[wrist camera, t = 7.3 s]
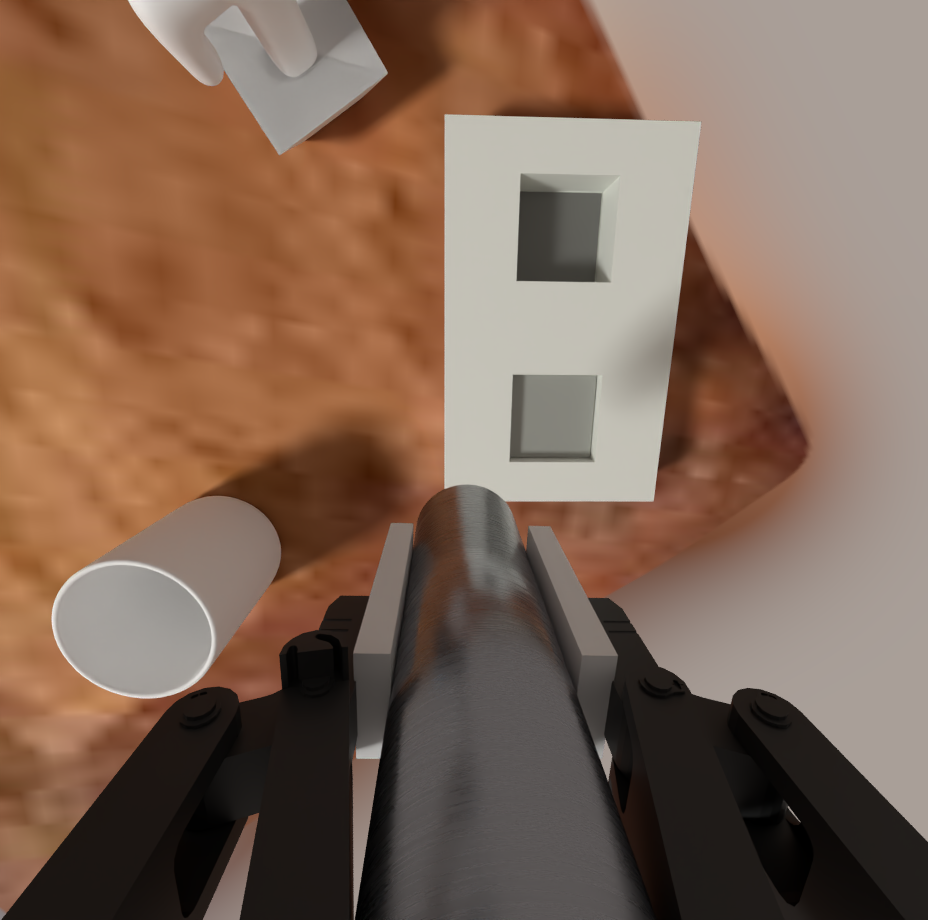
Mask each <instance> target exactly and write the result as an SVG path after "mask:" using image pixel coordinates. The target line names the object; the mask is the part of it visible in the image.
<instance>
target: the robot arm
mask: <svg viewBox="0 0 928 920" xmlns="http://www.w3.org/2000/svg"><path fill="white" fill-rule="evenodd" d="M526 553H527V556H528V559H529V562H530V565H531V567H532V570H533V573H534V576H535V579H536V581H537V584H538V587H539V590H540V593H541V595H542V598H543V601H544V604H545V607H546V609H547V612H548V615H549V618H550V621H551V624H552V626H553V629H554V632H555V635H556V638H557V640H558V643H559V646H560V649H561V652H562V654H563V657H564V660H565V663H566V666H567V668H568V671H569V674H570V677H571V680H572V682H573V685H574V688H575V691H576V694H577V696H578V699H579V702H580V705H581V708H582V710H583V713H584V716H585V719H586V722H587V724H588V727H589V730H590V733H591V736H592V738H593V741H594V744H595V747H596V750H597V752H598V755H599V758H602V756H603V749H604V744H605V738H606V741H607V743H608V746H609V748H610V751H611V754H612V762H611V768H610V774H609V781H608V783H609V786H610V789H611V792H612V795H613V797H614V800H615V803H616V806H617V809H618V811H619V814H620V817H621V820H622V823H623V825H624V828H625V831H626V834H627V837H628V839H629V842H630V845H631V848H632V851H633V853H634V856H635V859H636V862H637V865H638V867H639V870H640V873H641V876H642V879H643V881H644V884H645V887H646V890H647V893H648V895H649V898H650V901H651V904H652V907H653V910H654V912H655V915H656V918H657V920H928V842H927V841H926V840H925V839H924V838H923V837H922V836H921V835H920V834H919V833H918V832H917V831H916V829H915V828H914V827H913V826H912V825H910V823H909V822H908V821H907V820H906V819H905V818H904V817H903V816H902V815H901V814H900V813H899V812H898V811H897V810H896V809H895V808H894V807H893V806H892V805H891V804H890V803H889V802H888V801H887V800H886V799H885V798H884V797H883V796H882V795H881V794H880V793H879V791H878V790H877V789H876V788H875V787H874V786H873V785H872V784H871V783H870V782H869V781H868V780H867V779H866V778H865V777H864V776H863V775H862V774H861V773H860V772H859V771H858V770H857V769H856V768H855V767H854V766H853V765H852V764H851V763H850V762H849V761H848V760H847V759H846V758H845V757H844V756H843V755H842V754H841V753H840V751H839V750H837V748H836V747H835V746H834V745H833V744H832V743H831V742H830V741H829V740H828V739H827V738H826V737H825V736H824V735H823V734H822V733H821V732H820V731H819V730H818V729H817V728H816V727H815V726H814V725H813V724H812V723H811V722H810V721H809V720H808V719H807V718H806V717H805V716H804V715H803V713H802V712H800V711H799V710H798V709H797V708H796V707H794V706H793V705H792V704H791V703H790V702H788V701H786V700H784V699H783V698H781V697H779V696H777V695H775V694H772V693H770V692H767V691H764V690H761V689H752V688H746V689H741V690H738V691H737V692H736V693H735V694H734V695H733V698H732V702H731V704H727V703H723V702H718V701H714V700H710V699H706V698H702V697H699V696H696V695H693V694H691V692H690V690H689V688H688V687H687V686H686V684H685V682H684V681H682V680H681V679H680V678H679V677H678V676H676V675H675V674H674V673H672V672H670V671H668V670H666V669H664V668H661V667H658V665H657V663H656V662H655V660H654V659H653V657H652V655H651V654H650V652H649V651H648V649H647V647H646V646H645V644H644V643H643V641H642V640H641V638H640V637H639V635H638V634H637V633H636V630H635V628H634V627H633V625H632V624H631V623H630V620H629V619H628V617H627V616H626V614H625V613H624V611H623V609H622V608H620V607H619V606H618V605H617V604H615V603H614V602H613V601H611V600H610V599H609V598H587V596H586V594H585V592H584V590H583V588H582V586H581V584H580V582H579V581H578V579H577V577H576V575H575V573H574V571H573V569H572V567H571V565H570V563H569V561H568V560H567V558H566V556H565V554H564V552H563V550H562V548H561V546H560V544H559V542H558V541H557V539H556V537H555V535H554V533H553V531H552V529H551V527H550V526H528V537H527V549H526ZM412 554H413V523H391V525H390V528H389V532H388V535H387V539H386V542H385V545H384V549H383V552H382V556H381V559H380V563H379V566H378V569H377V573H376V576H375V580H374V583H373V587H372V590H371V594H370V596H340V597H339V598H338V599H336V600H335V601H334V602H333V603H332V604H331V605H330V606H329V607H328V609H327V611H326V614H325V616H324V618H323V621H322V623H321V625H320V628H319V630H315V631H311V632H306V633H303V634H301V635H299V636H297V637H295V638H293V639H291V640H290V641H289V642H288V643H287V644H286V645H284V647H283V649H282V651H281V652H280V654H279V656H280V668H281V680H282V690H280V691H278V692H276V693H274V694H271V695H268V696H265V697H261V698H257V699H253V700H249V701H245V702H240V703H239V700H238V696H237V694H236V693H234V692H233V691H232V690H231V689H228V688H223V687H211V688H204V689H201V690H198V691H195V692H192V693H190V694H188V695H186V696H184V697H183V698H181V699H179V700H178V701H176V702H175V703H174V704H173V705H172V706H171V707H170V708H169V709H168V710H167V711H166V712H165V713H164V714H163V716H162V717H161V718H160V719H159V721H158V722H157V723H156V724H155V726H154V727H153V728H152V730H151V731H150V732H149V733H148V735H147V736H146V737H145V738H144V740H143V741H142V742H141V743H140V745H139V746H138V747H137V749H136V750H135V751H134V752H133V754H132V755H131V756H130V757H129V759H128V760H127V761H126V762H125V764H124V765H123V766H122V768H121V769H120V770H119V771H118V773H117V774H116V775H115V776H114V778H113V779H112V780H111V781H110V783H109V784H108V785H107V787H106V788H105V789H104V790H103V792H102V793H101V794H100V795H99V797H98V798H97V799H96V801H95V802H94V803H93V804H92V806H91V807H90V808H89V809H88V811H87V812H86V813H85V814H84V816H83V817H82V818H81V820H80V821H79V822H78V823H77V825H76V826H75V827H74V828H73V830H72V831H71V832H70V833H69V835H68V836H67V837H66V839H65V840H64V841H63V842H62V844H61V845H60V846H59V847H58V849H57V850H56V851H55V852H54V854H53V855H52V856H51V858H50V859H49V860H48V861H47V863H46V864H45V865H44V866H43V868H42V869H41V870H40V871H39V873H38V874H37V875H36V877H35V878H34V879H33V880H32V882H31V883H30V884H29V885H28V887H27V888H26V889H25V891H24V892H23V893H22V894H21V896H20V897H19V898H18V899H17V901H16V902H15V903H14V904H13V906H12V907H11V908H10V910H9V911H8V912H7V913H6V915H5V916H4V917H3V918H2V920H203V918H204V915H205V913H206V911H207V909H208V907H209V904H210V902H211V900H212V898H213V895H214V893H215V891H216V889H217V886H218V884H219V882H220V880H221V877H222V875H223V873H224V871H225V868H226V866H227V864H228V862H229V860H230V857H231V855H232V853H233V851H234V848H235V846H236V844H237V842H238V839H239V837H240V835H241V833H242V830H243V828H244V826H245V824H246V822H247V819H248V816H250V815H253V814H256V813H259V818H258V823H257V828H256V834H255V839H254V845H253V850H252V856H251V861H250V866H249V872H248V877H247V883H246V888H245V894H244V899H243V905H242V910H241V915H240V920H354V901H353V776H352V759H353V754H354V750H355V745H356V759H380V756H381V749H382V743H383V737H384V730H385V724H386V717H387V711H388V705H389V699H390V695H391V689H392V683H393V676H394V670H395V663H396V657H397V650H398V644H399V637H400V631H401V625H402V618H403V612H404V605H405V599H406V592H407V586H408V579H409V573H410V566H411V560H412ZM788 806H789V807H790V808H791V810H792V811H793V812H794V814H795V815H796V816H797V818H798V819H799V820H800V822H799V821H798V820H797V819H796V817H795V816H794V815H793V814H792V813H791V811H790V810H789V809H788Z"/></svg>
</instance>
